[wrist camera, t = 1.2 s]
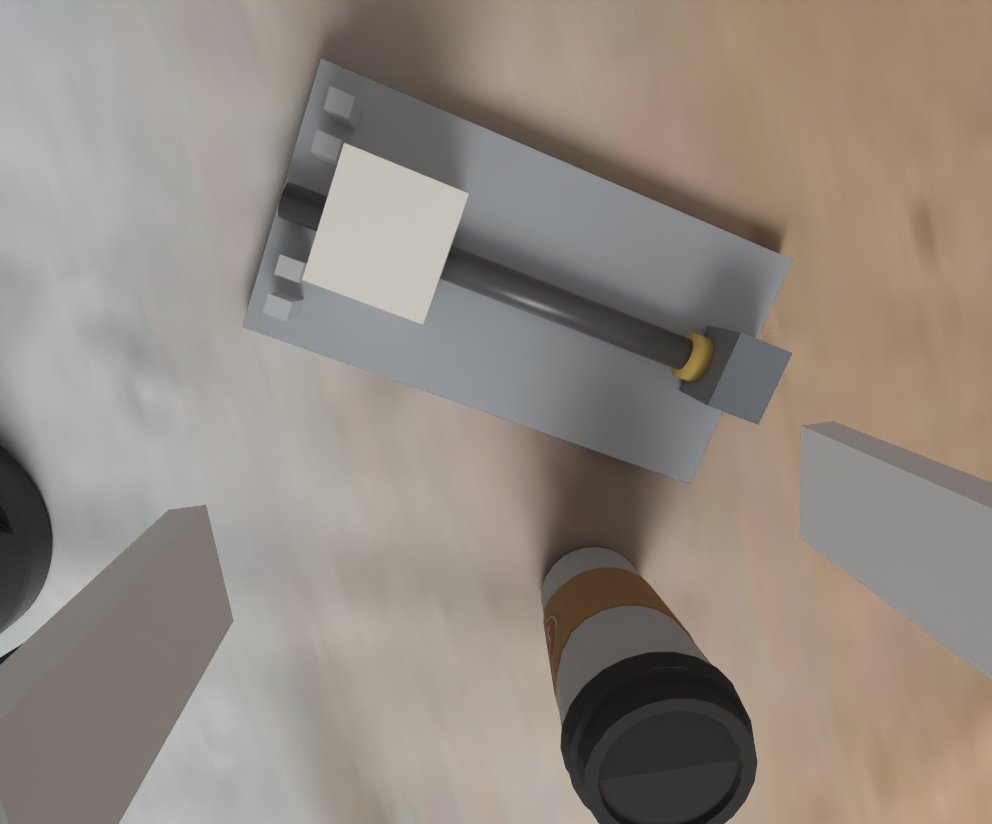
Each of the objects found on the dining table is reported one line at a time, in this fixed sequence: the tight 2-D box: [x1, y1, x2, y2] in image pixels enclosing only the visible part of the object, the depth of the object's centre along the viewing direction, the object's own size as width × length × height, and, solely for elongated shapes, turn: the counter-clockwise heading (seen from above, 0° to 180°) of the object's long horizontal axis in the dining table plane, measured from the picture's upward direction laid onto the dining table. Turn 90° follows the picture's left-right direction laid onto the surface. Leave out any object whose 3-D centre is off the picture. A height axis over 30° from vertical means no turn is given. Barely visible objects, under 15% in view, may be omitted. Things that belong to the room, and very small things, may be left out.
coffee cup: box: [541, 547, 757, 824], centre depth 32 cm, size 8×8×15 cm
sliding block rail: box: [242, 58, 793, 484], centre depth 32 cm, size 27×14×6 cm, turn 69°
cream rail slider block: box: [302, 143, 469, 325], centre depth 28 cm, size 5×5×8 cm
